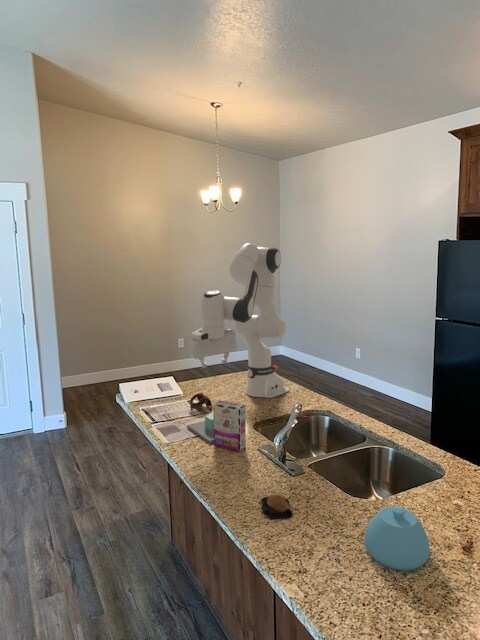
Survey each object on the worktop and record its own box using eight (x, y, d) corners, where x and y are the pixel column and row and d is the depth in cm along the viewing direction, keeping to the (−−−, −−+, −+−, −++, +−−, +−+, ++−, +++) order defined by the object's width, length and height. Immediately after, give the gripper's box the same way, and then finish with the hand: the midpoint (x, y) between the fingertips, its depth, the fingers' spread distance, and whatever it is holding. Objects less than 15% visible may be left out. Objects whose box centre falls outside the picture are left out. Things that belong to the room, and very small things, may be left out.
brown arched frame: (215, 412, 205) (207, 399, 201) (196, 422, 206) (187, 408, 202) (212, 397, 216) (204, 384, 212) (194, 406, 216) (186, 393, 213)
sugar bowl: (353, 556, 111) (355, 512, 109) (377, 526, 123) (379, 486, 121) (417, 584, 102) (420, 537, 100) (436, 549, 114) (440, 506, 112)
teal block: (215, 425, 187) (215, 413, 186) (222, 429, 183) (222, 417, 182) (205, 427, 184) (204, 415, 183) (211, 432, 180) (211, 419, 179)
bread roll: (258, 501, 136) (258, 490, 135) (286, 499, 137) (286, 487, 136) (265, 523, 125) (265, 510, 125) (295, 520, 127) (296, 507, 126)
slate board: (217, 420, 195) (217, 417, 195) (240, 435, 180) (240, 432, 180) (187, 427, 187) (187, 425, 187) (209, 443, 173) (209, 440, 172)
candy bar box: (246, 447, 170) (246, 404, 167) (240, 452, 166) (240, 408, 163) (220, 441, 175) (219, 399, 172) (213, 446, 171) (212, 403, 168)
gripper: (230, 326, 193) (231, 358, 195) (187, 334, 181) (188, 367, 184) (239, 329, 187) (239, 362, 190) (195, 337, 176) (196, 371, 179)
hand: (214, 365), depth 187 cm, fingers open, 8 cm apart
